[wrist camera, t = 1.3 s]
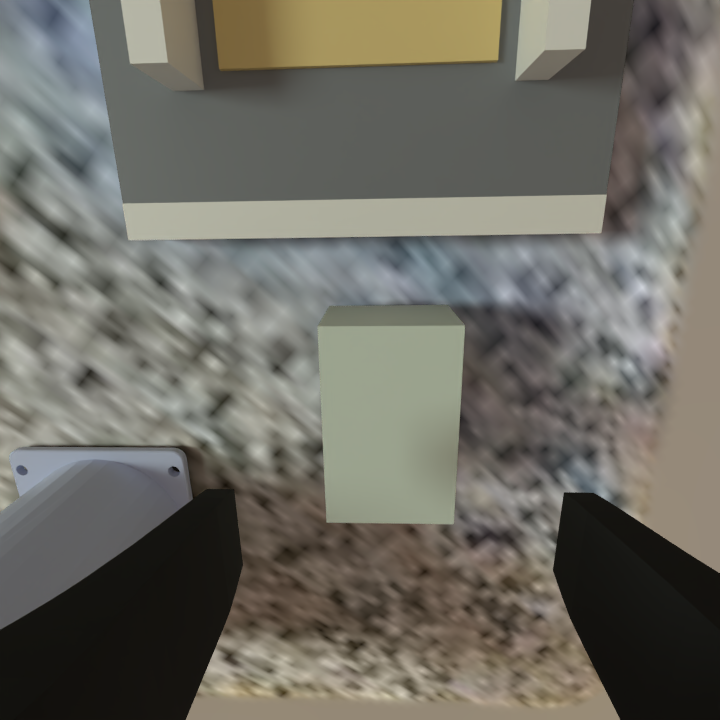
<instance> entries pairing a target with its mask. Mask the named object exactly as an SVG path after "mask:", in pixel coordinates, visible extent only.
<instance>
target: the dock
mask: <svg viewBox="0 0 720 720" xmlns="http://www.w3.org/2000/svg"><path fill="white" fill-rule="evenodd" d="M89 2H90V8H91V14H92V20H93V26H94V32H95V38H96V44H97V50H98V56H99V62H100V68H101V74H102V80H103V86H104V92H105V98H106V104H107V110H108V116H109V122H110V128H111V134H112V140H113V146H114V152H115V158H116V164H117V170H118V176H119V182H120V188H121V194H122V200H123V210H124V216H125V222H126V228H127V234H128V240H185V239H252V238H319V237H386V236H453V235H520V234H586V233H601V232H602V225H603V218H604V211H605V204H606V197H607V195H606V193H607V186H608V179H609V172H610V165H611V158H612V151H613V143H614V136H615V129H616V122H617V115H618V108H619V101H620V94H621V87H622V80H623V73H624V66H625V59H626V52H627V45H628V38H629V31H630V24H631V17H632V10H633V3H634V0H89Z"/></svg>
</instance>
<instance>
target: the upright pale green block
mask: <svg viewBox="0 0 720 720" xmlns="http://www.w3.org/2000/svg"><path fill="white" fill-rule="evenodd" d="M464 336H465V325H464V324H463V322H462V321H461V320H460V319H459V318H458V316H457V315H456V314H455V313H454V312H453V310H452V309H451V308H450V307H449V306H448V305H376V306H329V308H328V309H327V311H326V313H325V315H324V316H323V318H322V320H321V321H320V323H319V325H318V347H319V369H320V391H321V413H322V435H323V457H324V479H325V501H326V523H393V524H454V511H455V494H456V476H457V459H458V441H459V424H460V406H461V389H462V371H463V354H464Z"/></svg>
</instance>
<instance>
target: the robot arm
mask: <svg viewBox="0 0 720 720" xmlns="http://www.w3.org/2000/svg"><path fill="white" fill-rule="evenodd" d="M9 460H10V464H11V467H12V471H13V474H14V478H15V481H16V485H17V488H18V492H19V495H20V497H19V498H18V499H17V500H16V501H14V502H13V503H12V504H10V505H9V506H8V507H6V508H5V509H4V510H3V511H1V512H0V720H186V717H187V715H188V713H189V710H190V708H191V705H192V703H193V700H194V698H195V696H196V693H197V691H198V688H199V686H200V683H201V681H202V679H203V676H204V674H205V671H206V669H207V667H208V664H209V662H210V659H211V657H212V654H213V652H214V650H215V647H216V645H217V642H218V640H219V637H220V635H221V632H222V630H223V627H224V625H225V622H226V620H227V617H228V615H229V612H230V609H231V606H232V602H233V599H234V596H235V592H236V589H237V585H238V581H239V577H240V574H241V570H242V566H243V562H242V554H241V545H240V537H239V528H238V520H237V511H236V503H235V494H234V489H207V490H205V491H204V492H202V493H201V494H199V495H198V496H197V497H195V498H194V499H193V497H192V490H191V484H190V477H189V470H188V464H187V457H186V455H185V453H184V452H183V451H182V450H180V449H179V448H141V447H19V448H17V449H16V450H14V451H13V452H11V453H10V455H9ZM23 466H24V467H26V468H27V470H26V469H25V468H24V467H23ZM172 466H174V467H177V468H178V469H179V471H180V472H176V471H174V470H173V468H172ZM553 571H554V574H555V577H556V580H557V583H558V586H559V589H560V592H561V595H562V598H563V600H564V603H565V606H566V608H567V611H568V614H569V616H570V619H571V621H572V623H573V625H574V627H575V629H576V631H577V633H578V635H579V638H580V640H581V642H582V644H583V646H584V648H585V650H586V652H587V654H588V656H589V658H590V660H591V662H592V664H593V666H594V668H595V670H596V672H597V674H598V676H599V678H600V680H601V682H602V684H603V686H604V688H605V690H606V692H607V694H608V696H609V698H610V700H611V702H612V704H613V706H614V708H615V710H616V712H617V714H618V716H619V717H620V720H720V573H718V572H717V571H715V570H713V569H712V568H710V567H709V566H707V565H705V564H704V563H702V562H701V561H699V560H697V559H696V558H694V557H692V556H691V555H689V554H688V553H686V552H685V551H683V550H682V549H680V548H679V547H677V546H676V545H674V544H672V543H671V542H669V541H668V540H666V539H665V538H663V537H662V536H660V535H659V534H657V533H656V532H654V531H653V530H651V529H650V528H648V527H647V526H645V525H644V524H642V523H640V522H639V521H637V520H636V519H634V518H633V517H631V516H630V515H628V514H627V513H625V512H624V511H622V510H621V509H619V508H618V507H616V506H614V505H613V504H611V503H610V502H608V501H606V500H605V499H603V498H601V497H600V496H598V495H596V494H594V493H564V497H563V504H562V511H561V518H560V525H559V532H558V539H557V546H556V553H555V560H554V567H553Z"/></svg>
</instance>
